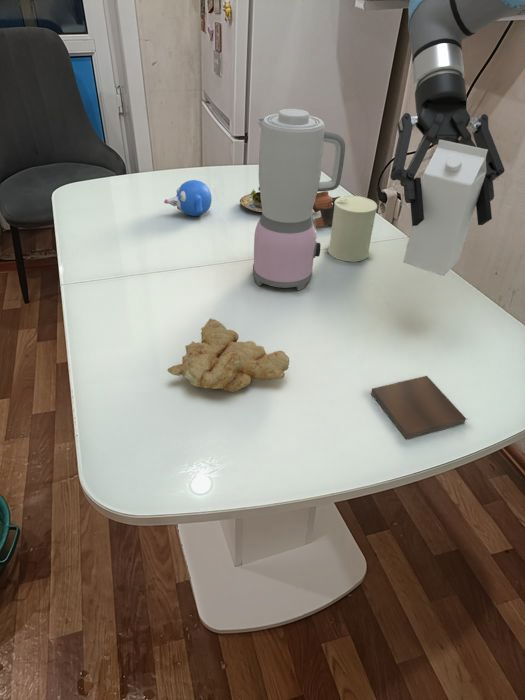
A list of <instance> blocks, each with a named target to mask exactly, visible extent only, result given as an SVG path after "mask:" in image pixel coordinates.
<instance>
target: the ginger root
mask: <svg viewBox="0 0 525 700" xmlns="http://www.w3.org/2000/svg"><path fill="white" fill-rule="evenodd" d="M200 331H201V332H200V335H201V338H200V339H201V340H200V341H201V342H199V341H198V342H195V341H193V340H192V341H191V342H190V343H189V344H187V345H185V355H183V356H182V357H181V363H179V364H176V365H175V364H174V365H172V366H171V367H168V368H167V372H168V373H169V374H171V375H173V376H176V377H177V376H178V377H179V376H182V377H184V378H185V379H186V380H188V382H189V383H190V385H191V386H193V387H195V388H204V389H212V390H215V389H221V390H224V391H226V392H229V393H232V392H237V391H239V390H240V389H243V388H245V387H247V386H249V385H250V384H251V382H252V380H255V381H262V380H263V381H265V380H277V379H284V378H285V372H286V371H287V370H288V369H289V368H290V367H289V366H290V357H289V356H288V355H287V354H286V352H285V351H284V350H275V351H274V352H269V353H267V352H266V350H265V347H264V346H262V345H257V344H256V342H255V341H253V340H247V341H238V340H239V333H238V332H236V331H235V330H234V329H227V328H226V327H225V325H224V324H223V323H221V322H220V321H218V320H216V319H214V318H209V319H208V321H207V322H206V323H205V324H204V326H203V327H201V330H200Z"/></svg>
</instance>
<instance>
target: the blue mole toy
mask: <svg viewBox="0 0 525 700" xmlns="http://www.w3.org/2000/svg"><path fill="white" fill-rule="evenodd" d="M212 199H213V198H212V192H211V190H210V188H209V186H208V185H207V184H206V183H204V182H203V181H201V180H196V179H191V180H187V181H185V182H183V183H182V184H180V186H179V187H177V189H176V195H175V196H174V197H173V196H172V197H170V198H168V199H164V201H163V203H164V204H169V205H170V206H173V207H176V208H177V210H179V211H181V212H183V213H184V214H186V215H188V216H192V217H198V216H199V217H200V216H202V215H204V214H206V213H207V212H208V211H209V210H210V208H211V205H212Z"/></svg>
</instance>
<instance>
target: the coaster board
mask: <svg viewBox="0 0 525 700" xmlns="http://www.w3.org/2000/svg"><path fill="white" fill-rule="evenodd" d="M370 393H371V395H372V396H373V398H374V399H375V400H376V401H377V403H378V405H379V406H380V407H381V408H382V410H383V411H384V413H386V415H387V416H388V417H389V419H390V420H391V421H392V423H393V424H394V426H395V427H396V428H397V429H398V431H399V432H400V433H401V435H403V437H404V438H405V440H408V439H412V438H415V437H419V436H424V435H426V434H430V433H434V432H438V431H441V430H445V429H449V428H452V427H456V426H459V425H463V424H465V423H466V420H467V417H466V416H465V415H464V414H463V413H462V412H461V411H460V410H459V409H458V408H457V407H456V406H455V405H454V403H452V401H451V400H450V399H449V398H448V397H447V396H446V395H445V394H444V393H443V391H441V390H440V389H439V387H438V386H437V385H436V384H435V383H434V381H432V380H431V378H430V377H429V376H428V375H423V376H419V377H416V378H411V379H406V380H403V381H398V382H394V383H389V384H386V385H381V386H376V387H372V388H371V392H370Z"/></svg>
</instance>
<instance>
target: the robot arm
mask: <svg viewBox="0 0 525 700" xmlns="http://www.w3.org/2000/svg"><path fill="white" fill-rule="evenodd" d="M514 16H515V17H516V16H525V0H409V2H408V23H407V31H408V36H409V40H410V41H409V42H410V49H411V58H412V59H411V63H412V67H411V68H412V77H413V89H414V103H415V112H416V115H411V114H410V113H408V112H405V113H403V115H402V116H401V118H400V120H399V121H398V122H397V131H398V138H397V143H396V146H395V147H396V148H395V151H394V157H393V161H392V165H391V166H392V167H391V171H390V179H391V180H392V181H399V184H400V186H401V187H403V195H404V201H405V204H410V213H411V214H410V215H411V227H412V226H417V225H418V224H420V223H421V222H422V221H423V220H424V211H423V199H422V188H421V184H422V178H421V177H416V174H417V173H418V171H419V169H420V166H421V165H422V162H423V161H424V159H425V156H426V154H427V152H428V150H429V148H430V146H431V145H432V146H438V142H439V140H444V141H449V142H454V143H458V144H463V145H468V146H473V147H477V148H482V149H487V150H488V151H487V155H486V174H485V178H484V181H483V184H482V187H481V191H480V194H479V197H478V200H477V204H476V207H475V210H476V218H477V219H476V220H477V225H478V226H483V225H485V224H486V223H488V222H489V221H491V220H492V219H493V217H492V205H491V202H492V201H493V200H494V198H495V190H494V181H495V180H497V179H498V178H499V177H501V175H503V174H504V173H505V167H504V164H503V161H502V159H501V156H500V154H499V151H498V149H497V146H496V144H495V141H494V139H493V136H492V134H491V131H490V129H489V116H488V115H487V114H485V113H483V114H481V115H480V116H479V117H477V116H471V114H469V112H468V109H467V103H468V98H467V97H468V96H467V86H466V80H465V67H464V59H463V57H464V56H463V48H462V47H463V46H462V45H463V43H462V42H463V41H464V40H465V39H467V38H469V37H471V36H473V35H475V34H476V33H478V32H480V31H481V30H483V29H485V28H487V27H488V26H490V25H491V24H494V23H495V22H496V21H499V20H501V19H504V18H510V17H514ZM415 127H416V128H417V129H418V131H419V132H420V133H421V135H422V137H421V139H420V141H419V144H418V145H417V148H416V150H415V153H414V154H413V157H412V158H411V159H410V162H409V164H408V166H407V168H406V169H405V165H406V161H407V155H408V152H409V148H410V147H409V146H410V142H411V137H412V132H413V130H414V128H415ZM467 127H468V128H469V129H470V130H469V129H468V128H467ZM472 134H473V135H472ZM472 136H473V139H472ZM473 140H474V141H473Z"/></svg>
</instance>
